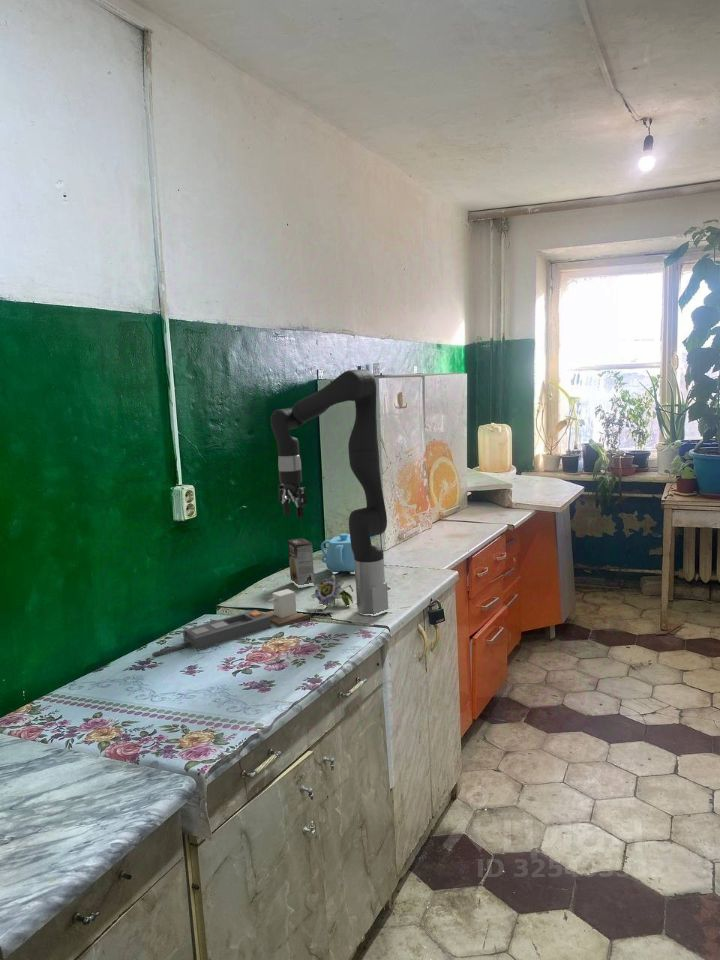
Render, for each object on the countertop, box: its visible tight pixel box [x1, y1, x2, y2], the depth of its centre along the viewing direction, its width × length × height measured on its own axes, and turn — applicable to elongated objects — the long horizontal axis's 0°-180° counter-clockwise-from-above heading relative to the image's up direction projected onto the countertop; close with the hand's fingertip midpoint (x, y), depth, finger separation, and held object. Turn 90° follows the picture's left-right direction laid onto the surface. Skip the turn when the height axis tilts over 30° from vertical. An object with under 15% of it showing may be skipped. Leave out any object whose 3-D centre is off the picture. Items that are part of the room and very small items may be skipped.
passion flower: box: [310, 574, 354, 608], centre depth 223 cm, size 11×11×12 cm
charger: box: [267, 588, 297, 618], centre depth 214 cm, size 4×8×7 cm, turn 127°
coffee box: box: [287, 537, 315, 585], centre depth 247 cm, size 9×6×16 cm
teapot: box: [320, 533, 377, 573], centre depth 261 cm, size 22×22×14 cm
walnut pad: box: [263, 610, 310, 628], centre depth 215 cm, size 12×12×1 cm
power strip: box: [151, 609, 272, 657], centre depth 200 cm, size 9×35×4 cm, turn 127°
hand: (293, 516), depth 230 cm, fingers open, 8 cm apart
